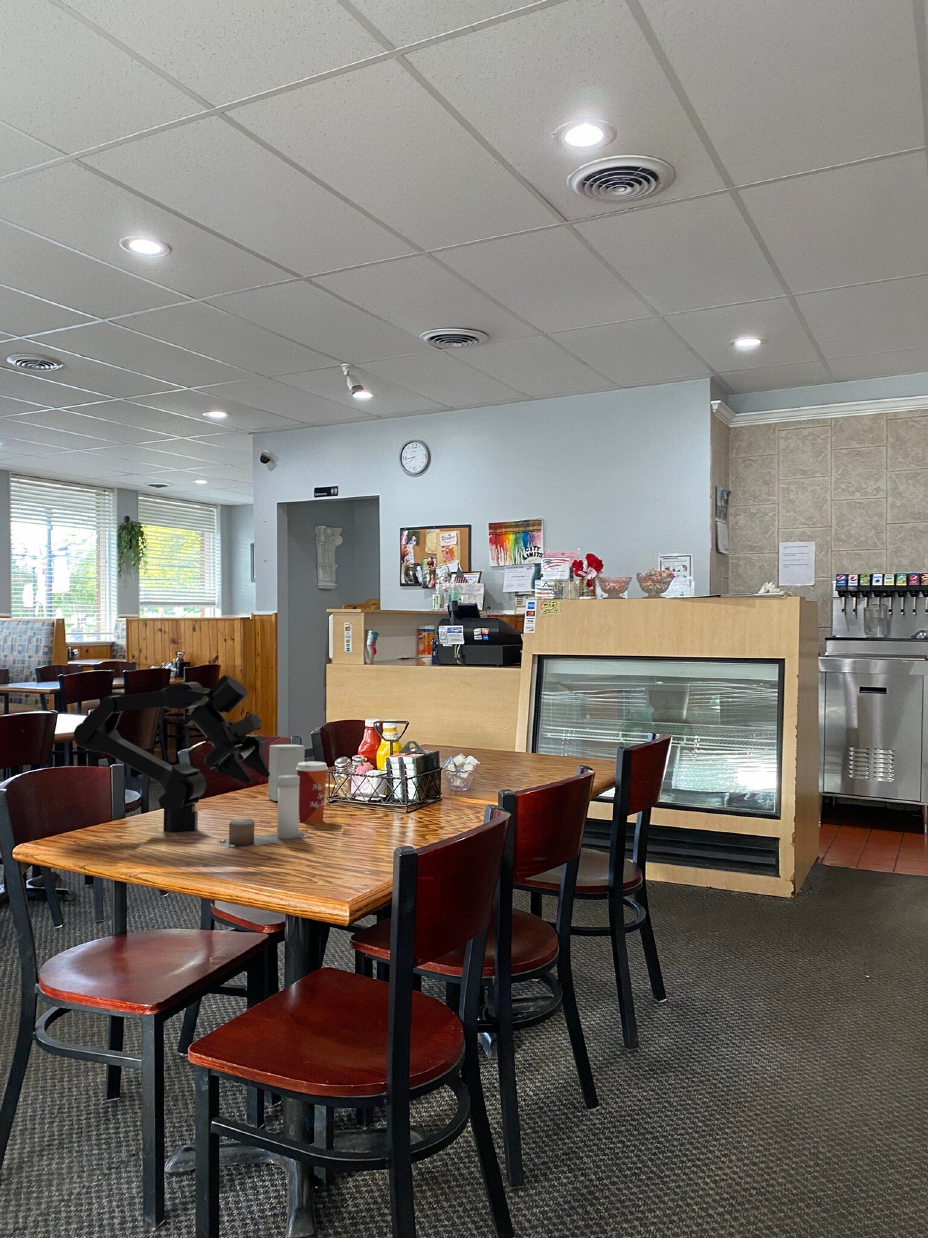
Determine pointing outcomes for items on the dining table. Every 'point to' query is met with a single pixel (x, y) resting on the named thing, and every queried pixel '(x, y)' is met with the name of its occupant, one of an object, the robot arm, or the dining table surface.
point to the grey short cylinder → (241, 831)
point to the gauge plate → (264, 840)
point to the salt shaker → (288, 806)
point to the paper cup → (311, 791)
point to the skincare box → (283, 764)
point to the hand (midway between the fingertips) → (259, 779)
